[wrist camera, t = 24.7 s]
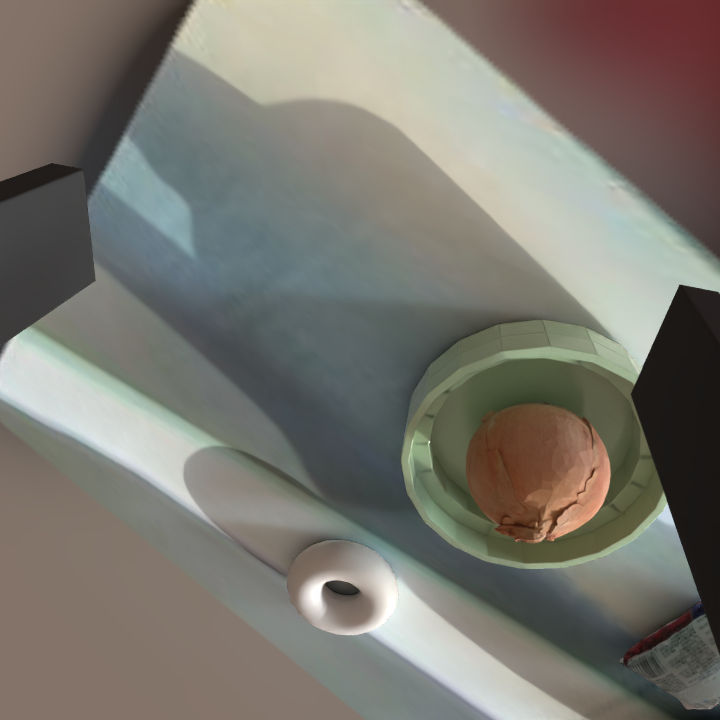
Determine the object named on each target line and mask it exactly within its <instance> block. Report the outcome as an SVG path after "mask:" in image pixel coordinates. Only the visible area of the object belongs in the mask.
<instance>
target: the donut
mask: <svg viewBox="0 0 720 720" xmlns="http://www.w3.org/2000/svg"><path fill="white" fill-rule="evenodd" d="M332 580H341V581H345V582H349V583H351V584H353V585H354V586H356V587H357V588H358V589H359V590H360V593H358V594H355V595H342V594H337V593H335V592H333V591H331V590H330V589H329V588H327V586H326V585H325V583H326V582H328V581H332ZM287 589H288V593H289V597H290V600H291V603H292V604H293V606H294V607H295V609H296V610H297V612H298V613H299V614H300V615H301V616H302V617H303V618H305V619H306V620H307V621H308V622H309V623H311V624H312V625H314V626H316V627H318V628H320V629H322V630H324V631H327V632H331V633H335V634H339V635H357V634H361V633H366V632H370V631H372V630H374V629H376V628H377V627H379V626H381V625H383V624H384V623H385V622H386V620H387V619H388V618H389V617H390V616H391V614H392V613H393V612H394V610H395V607H396V603H397V600H398V596H399V592H398V585H397V579H396V576H395V574H394V572H393V571H392V569H391V567H390V566H389V564H388V562H387V561H386V560H385V559H384V558H382V557H381V556H380V555H379V554H378V553H377V552H376V551H374V550H372V549H370V548H368V547H366V546H364V545H362V544H359V543H355V542H351V541H347V540H326V541H323V542H319V543H316V544H313V545H311V546H310V547H308V548H307V549H305V550H304V551H302V552H301V553H300V554H298V556H297V557H296V559H295V560H294V562H293V563H292V565H291V566H290V568H289V573H288V579H287Z"/></svg>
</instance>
